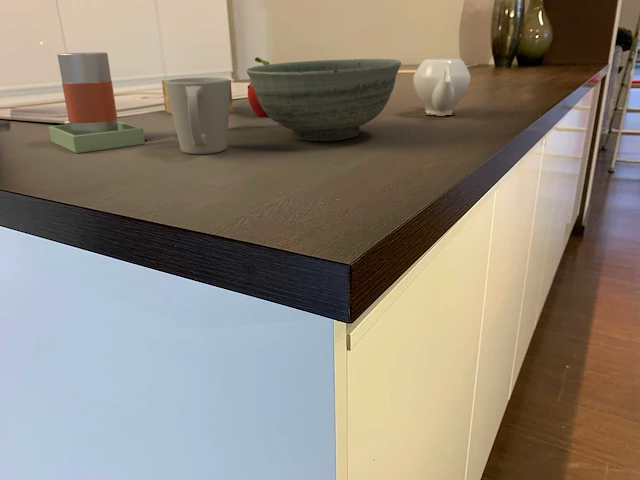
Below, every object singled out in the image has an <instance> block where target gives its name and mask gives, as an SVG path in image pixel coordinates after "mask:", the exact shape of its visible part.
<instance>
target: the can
mask: <svg viewBox="0 0 640 480" xmlns="http://www.w3.org/2000/svg"><path fill="white" fill-rule="evenodd" d="M57 61H58V67H59V73H60V77H61V85H62V91H63V97H64V101H65V105H66V106H65V107H66V113H67V119H68V122H69V124H70V128H71V134H73V135H75V136H77V135H85V134H94V133H102V132H110V131H119V129H118V122H117V121H118V113H117V107H116V100H115V93H114V86H113V81H112V75H111V68H110V62H109V54H108V52H103V51H102V52H100V51H97V52H64V53H61V52H60V53H57Z"/></svg>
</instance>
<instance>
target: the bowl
mask: <svg viewBox="0 0 640 480" xmlns="http://www.w3.org/2000/svg"><path fill="white" fill-rule="evenodd" d="M401 66H402V62H401V60H399V59H395V58H394V59H392V58H391V59H390V58H353V59H352V58H351V59H324V60H322V59H321V60H304V61H291V62H277V63H269V65H264V64H262V65H255V66H251V67H249V68H247V69H246V70H245V72H246V74H247V76H248V77H249V80H250V83H252V86H253V88H254V91H255V94H256V96H257V99H258V101H259V103H260V105H261V106H262V108H263V110H264V111H265V112H266V113H267V115H268V116H269V117H268V118H269V119H271V120H272V121H273V122H275V123H277V124H279V125H281V127H284V128H286V129H288V130H292V135H293V137H294V138H295V139H296V140H297V139H298V140H302V141H312V142H329V141H339V140H340V141H341V140H346V139H350V138H354V137H356V136H358V135H359V134H360V131H361V126H364V125H366V124H368V123H369V122H371V121H373V120H374V119H375V118H377V117H378V116H379V115H380V114H381V113H382V112H383V110H384V108H385V107H386V106H387V104H388V102H389V100H390V98H391V95H392V92H393V91H394V88H395V84H396V77H397V76H398V72H399V71H400V68H401Z"/></svg>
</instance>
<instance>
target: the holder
mask: <svg viewBox="0 0 640 480" xmlns="http://www.w3.org/2000/svg"><path fill="white" fill-rule="evenodd" d="M167 80H168V79H164V80H163V79H162V80H161V85H162V94H163V104H164V111H165V113H169V114H172V111H171V107H170V102H169V97H168V93H167V88H166V81H167ZM229 80H230V93H229V113H233V112H234V106H233V105H234V104H233V94H232V80H231V79H229Z"/></svg>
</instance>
